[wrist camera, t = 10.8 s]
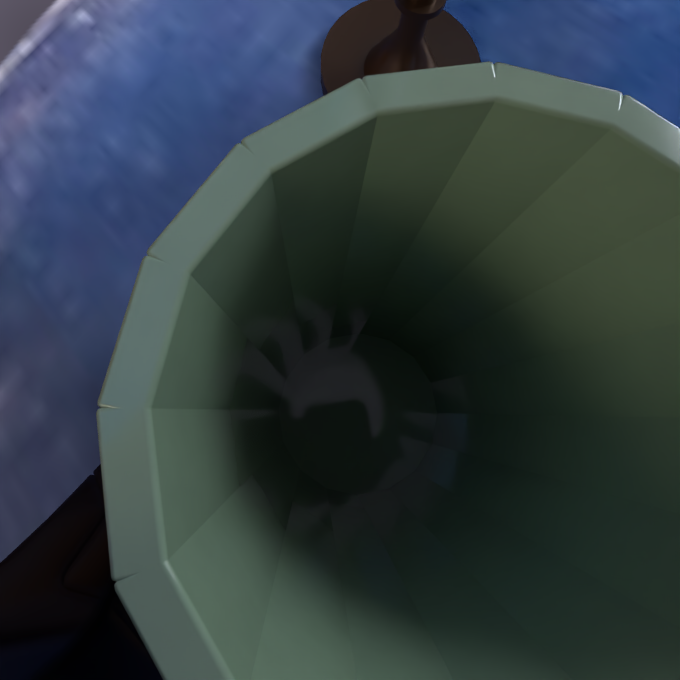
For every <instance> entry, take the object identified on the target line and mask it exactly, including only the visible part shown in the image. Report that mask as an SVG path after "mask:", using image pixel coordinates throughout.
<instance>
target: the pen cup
mask: <svg viewBox="0 0 680 680" xmlns="http://www.w3.org/2000/svg"><path fill="white" fill-rule="evenodd" d="M147 255H148V256H144V258H143V259H142V262H141V265H140V268H139V272H138V275H137V278H136V281H135V284H134V288H133V291H132V294H131V297H130V300H129V303H128V307H127V310H126V313H125V316H124V319H123V322H122V326H121V329H120V332H119V335H118V338H117V342H116V345H115V348H114V351H113V354H112V357H111V361H110V364H109V367H108V370H107V373H106V377H105V380H104V383H103V386H102V389H101V392H100V396H99V399H98V406H99V407H100V409H98V410H97V413H96V417H97V428H98V439H99V450H100V461H101V472H102V483H103V493H104V504H105V515H106V526H107V537H108V548H109V559H110V570H111V578H112V580H113V581H116V583H115V584H114V587H115V591H116V593H117V595H118V597H119V599H120V600H121V602H122V604H123V606H124V608H125V610H126V612H127V613H128V615H129V617H130V619H131V621H132V623H133V625H134V626H135V628H136V630H137V632H138V634H139V636H140V638H141V639H142V641H143V643H144V645H145V647H146V649H147V651H148V652H149V654H150V656H151V658H152V660H153V662H154V663H155V665H156V667H157V669H158V671H159V673H160V675H161V676H162V678H163V680H680V128H679V127H678V126H676V125H675V124H673V123H671V122H670V121H668V120H667V119H665V118H664V117H662V116H661V115H659V114H657V113H656V112H654V111H653V110H651V109H650V108H648V107H646V106H645V105H643V104H642V103H640V102H639V101H637V100H635V99H634V98H632V97H631V96H629V95H624V96H623V94H622V93H621V92H620V91H616V90H612V89H608V88H604V87H600V86H595V85H591V84H587V83H583V82H579V81H575V80H571V79H566V78H562V77H558V76H554V75H550V74H546V73H542V72H537V71H533V70H529V69H525V68H521V67H517V66H513V65H508V64H504V63H500V62H497V63H495V64H493V63H492V62H481V63H472V64H464V65H455V66H446V67H437V68H429V69H420V70H411V71H402V72H394V73H385V74H376V75H367V76H365V77H363V78H362V79H360V78H357V79H355V80H353V81H351V82H349V83H347V84H345V85H343V86H341V87H340V88H338V89H336V90H334V91H332V92H330V93H328V94H326V95H324V96H322V97H321V98H319V99H317V100H315V101H313V102H311V103H309V104H307V105H305V106H304V107H302V108H300V109H298V110H296V111H294V112H292V113H290V114H288V115H286V116H285V117H283V118H281V119H279V120H277V121H275V122H273V123H271V124H269V125H268V126H266V127H264V128H262V129H260V130H258V131H256V132H254V133H252V134H250V135H249V136H247V137H245V138H243V139H242V141H241V144H240V143H238V144H236V145H235V146H234V147H233V148H232V150H231V151H230V152H229V153H228V154H227V156H226V157H225V158H224V159H223V160H222V162H221V163H220V164H219V165H218V166H217V167H216V169H215V170H214V171H213V172H212V173H211V175H210V176H209V177H208V178H207V179H206V181H205V182H204V183H203V184H202V185H201V187H200V188H199V189H198V190H197V191H196V192H195V194H194V195H193V196H192V197H191V198H190V200H189V201H188V202H187V203H186V204H185V206H184V207H183V208H182V209H181V210H180V212H179V213H178V214H177V215H176V216H175V218H174V219H173V220H172V221H171V222H170V223H169V225H168V226H167V227H166V228H165V229H164V231H163V232H162V233H161V234H160V235H159V237H158V238H157V239H156V240H155V241H154V243H153V244H152V245H151V246H150V247H149V248H148V250H147Z"/></svg>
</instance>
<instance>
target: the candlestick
mask: <svg viewBox="0 0 680 680" xmlns="http://www.w3.org/2000/svg"><path fill="white" fill-rule="evenodd" d="M445 3H446V0H368V1H365V2H362V3H360V4H359V5H357V6H355V7H353V8H351V9H350V10H348V11H347V12H346V13H345V14H343V15H342V16H341V17H340V18H339V19H338V20H337V21H336V23H335V24H334V25H333V26H332V28H331V29H330V31H329V33H328V35H327V37H326V39H325V41H324V45H323V49H322V53H321V86H322V91H323V95H326V94H328V93H330V92H332V91H334V90H336V89H338V88H340V87H341V86H343V85H345V84H347V83H349V82H351V81H353V80H355V79H357V78H360V79H362V78H363V77H365V76H367V75H376V74H385V73H394V72H402V71H411V70H420V69H429V68H437V67H446V66H455V65H464V64H472V63H481V61H480V57H479V54H478V50H477V48H476V46H475V44H474V42H473V40H472V38H471V36H470V35H469V33H468V32H467V31H466V29H465V28H464V27H463V26H462V24H461V23H459V22H458V21H457V20H456V19H455V18H454V17H453V16H452V15H451V14H449V13H447V12H446V11H444V10H443V8H444V6H445Z"/></svg>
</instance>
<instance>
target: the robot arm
mask: <svg viewBox="0 0 680 680" xmlns="http://www.w3.org/2000/svg"><path fill="white" fill-rule="evenodd" d="M93 474H94V475H89V476H88V477H87V479H86V480H85V481H84V482H83V483H82V484H81V485H80V486H79V487H78V488H77V489H76V490H75V491H74V492H73V493H72V494H71V495H70V496H69V497H68V498H67V499H66V500H65V501H64V502H63V503H62V504H61V506H60V507H59V508H58V509H57V510H56V511H55V512H54V513H53V514H52V515H51V516H50V517H49V518H48V519H47V520H46V521H45V522H44V523H42V524H41V525H40V526H39V527H38V528H37V529H36V530H35V531H34V532H33V533H32V534H31V535H30V536H29V537H28V538H27V539H26V540H24V541H23V542H22V543H21V544H20V545H19V546H18V547H17V548H16V549H15V550H14V551H13V552H12V553H11V554H9V555H8V556H7V557H6V558H5V559H4V560H3V561H2V562H1V563H0V680H163V678H162V676H161V675H160V673H159V671H158V669H157V667H156V665H155V663H154V662H153V660H152V658H151V656H150V654H149V652H148V651H147V649H146V647H145V645H144V643H143V641H142V639H141V638H140V636H139V634H138V632H137V630H136V628H135V626H134V625H133V623H132V621H131V619H130V617H129V615H128V613H127V612H126V610H125V608H124V606H123V604H122V602H121V600H120V599H119V597H118V595H117V593H116V591H115V587H114V584H115V583H116V581H113V580H112V578H111V570H110V559H109V548H108V537H107V526H106V515H105V504H104V493H103V483H102V472H101V464H100V465H99V466H98V467H97V468H96V469H95V470H94V472H93Z"/></svg>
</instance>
